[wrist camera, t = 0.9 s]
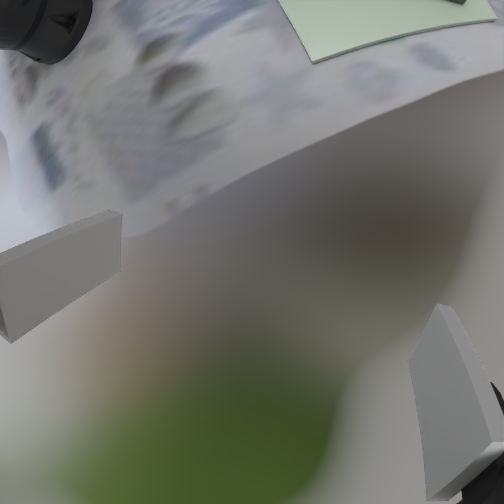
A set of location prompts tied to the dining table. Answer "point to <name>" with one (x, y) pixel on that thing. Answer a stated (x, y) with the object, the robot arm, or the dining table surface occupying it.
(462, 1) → the bar
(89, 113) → the dining table surface
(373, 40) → the board
